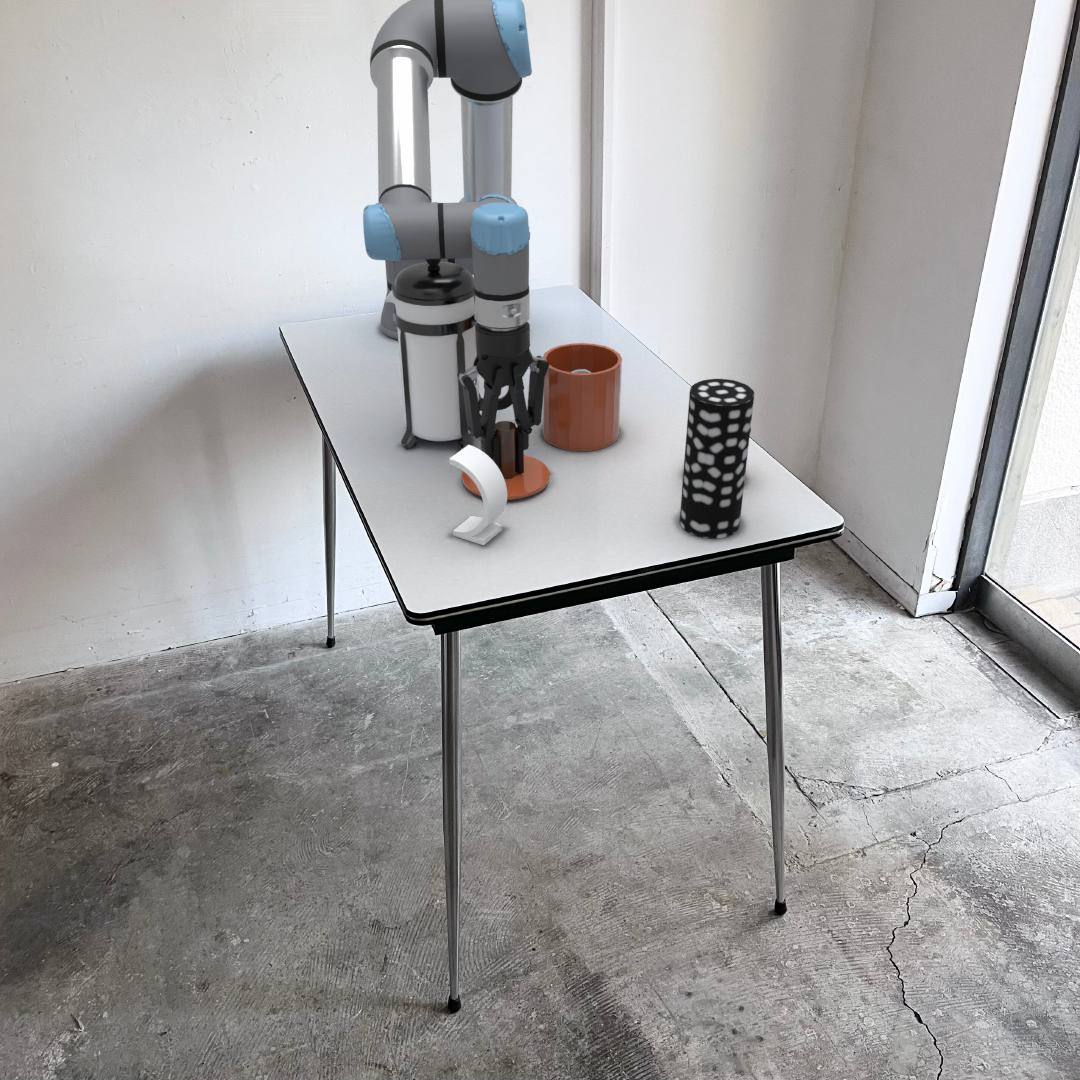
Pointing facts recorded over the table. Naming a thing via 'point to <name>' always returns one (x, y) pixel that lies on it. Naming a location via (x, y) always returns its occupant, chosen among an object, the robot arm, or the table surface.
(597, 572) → the table surface
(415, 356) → the coffee press
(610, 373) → the canister
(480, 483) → the headphone stand
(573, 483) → the table surface
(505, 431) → the lid
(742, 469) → the white-spotted black cylinder
